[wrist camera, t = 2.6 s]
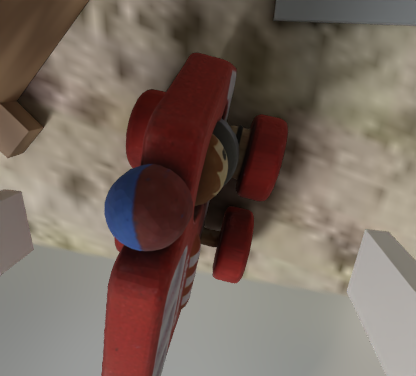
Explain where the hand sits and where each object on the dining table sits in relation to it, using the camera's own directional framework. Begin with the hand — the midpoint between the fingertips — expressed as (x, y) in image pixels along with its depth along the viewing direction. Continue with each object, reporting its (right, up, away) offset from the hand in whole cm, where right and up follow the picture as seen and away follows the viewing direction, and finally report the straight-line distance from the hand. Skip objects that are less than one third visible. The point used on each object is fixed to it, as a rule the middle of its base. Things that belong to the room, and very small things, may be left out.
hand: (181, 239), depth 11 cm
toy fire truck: (+1, +3, +6) cm, 7 cm away
